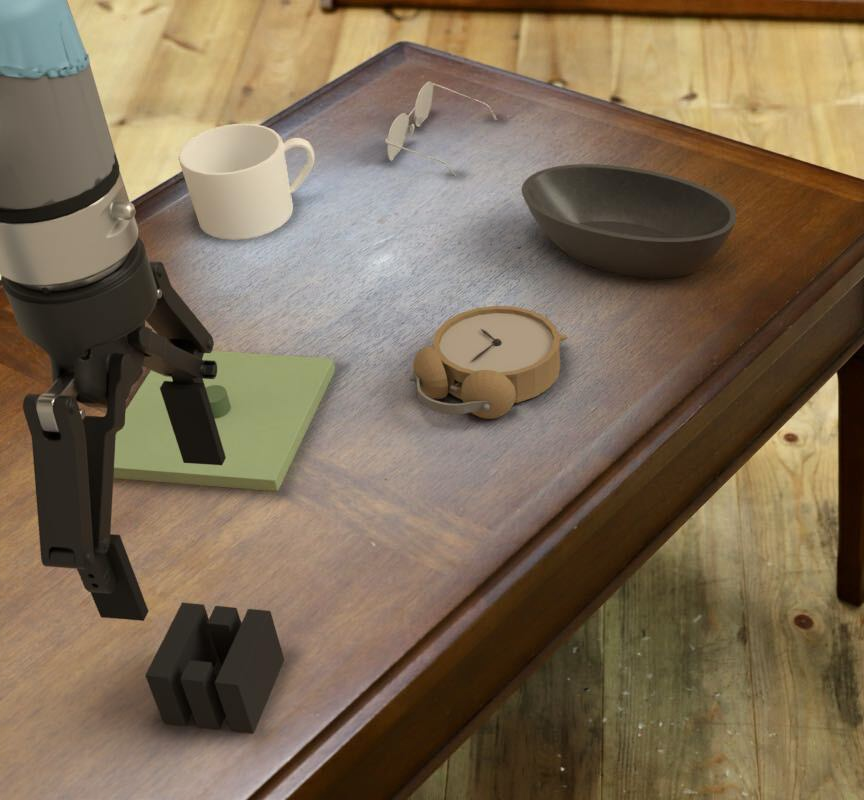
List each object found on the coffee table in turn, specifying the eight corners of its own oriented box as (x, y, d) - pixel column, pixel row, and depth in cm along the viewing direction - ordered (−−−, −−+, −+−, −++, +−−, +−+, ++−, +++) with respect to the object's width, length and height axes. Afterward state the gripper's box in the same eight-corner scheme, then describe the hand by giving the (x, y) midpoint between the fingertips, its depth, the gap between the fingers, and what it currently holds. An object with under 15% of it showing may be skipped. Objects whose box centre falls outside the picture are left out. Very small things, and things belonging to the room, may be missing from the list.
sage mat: (94, 478, 115) (83, 449, 113) (169, 360, 127) (160, 331, 125) (278, 493, 112) (270, 463, 110) (336, 371, 124) (330, 342, 122)
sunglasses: (431, 111, 161) (433, 73, 158) (498, 129, 160) (501, 92, 157) (383, 171, 151) (384, 131, 148) (454, 191, 150) (457, 152, 147)
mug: (196, 250, 141) (177, 181, 135) (195, 198, 148) (177, 131, 143) (328, 230, 143) (314, 161, 137) (320, 179, 151) (307, 113, 145)
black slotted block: (164, 726, 95) (144, 675, 91) (199, 653, 100) (181, 602, 96) (254, 736, 94) (237, 685, 90) (285, 661, 99) (270, 610, 95)
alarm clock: (586, 328, 123) (486, 397, 112) (583, 375, 126) (485, 447, 115) (484, 292, 128) (379, 354, 117) (483, 338, 131) (381, 404, 119)
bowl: (556, 203, 145) (553, 151, 141) (754, 246, 137) (756, 192, 133) (502, 263, 137) (497, 210, 133) (709, 313, 129) (710, 258, 125)
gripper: (32, 408, 64) (148, 696, 77) (217, 139, 83) (284, 408, 96) (-118, 399, 65) (23, 685, 78) (99, 135, 84) (182, 402, 97)
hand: (167, 533), depth 87 cm, fingers open, 13 cm apart
